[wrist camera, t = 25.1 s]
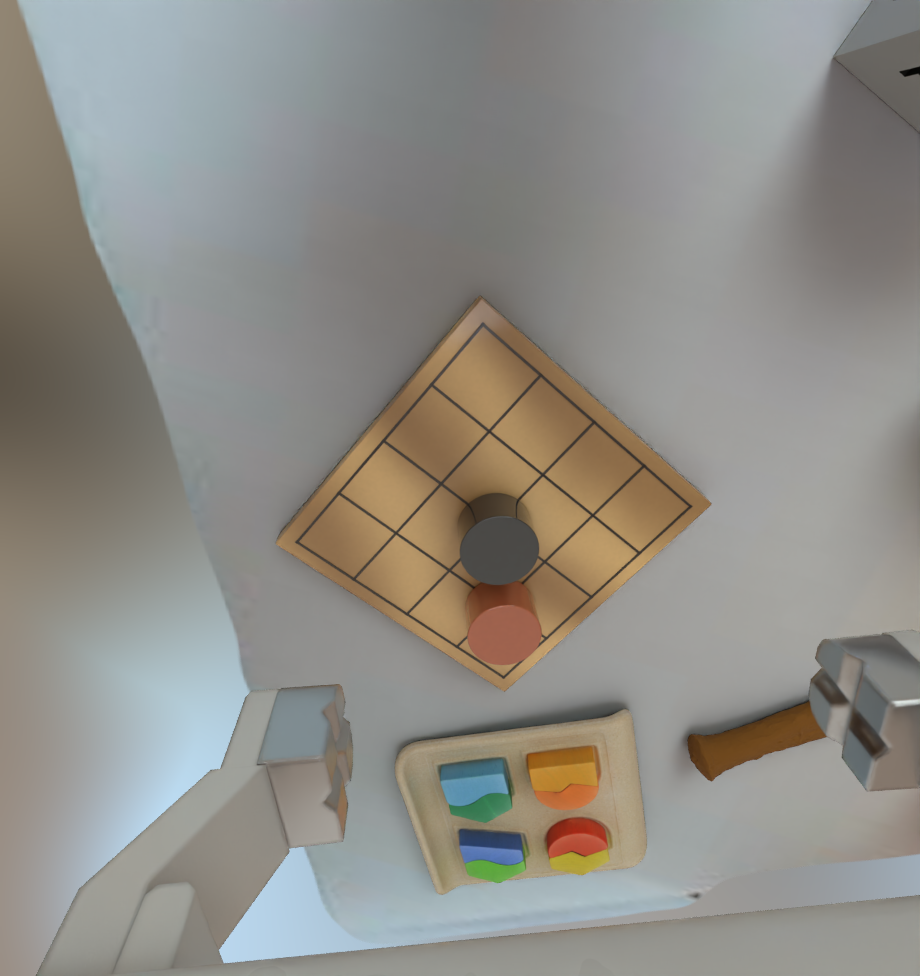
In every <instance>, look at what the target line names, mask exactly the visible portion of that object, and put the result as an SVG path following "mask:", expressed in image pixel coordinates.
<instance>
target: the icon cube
mask: <svg viewBox="0 0 920 976" xmlns="http://www.w3.org/2000/svg"><path fill="white" fill-rule="evenodd" d="M834 58H835V59H836V60H837V61H838V62H839V63H840V64H842V65H843V66H844V67H845V68H846V69H847V70H848V71H850V72H851V73H852V74H853V75H854V76H855V77H856V78H858V79H859V80H860V81H861V82H862V83H863V84H864V85H866V86H867V87H868V88H869V89H870V90H871V91H872V92H874V93H875V94H876V95H877V96H878V97H879V98H880V99H882V100H883V101H884V102H885V103H886V104H887V105H888V106H890V107H891V108H892V109H893V110H894V111H895V112H896V113H898V114H899V115H900V116H901V117H902V118H903V119H904V120H906V121H907V122H908V123H909V124H910V125H911V126H912V127H914V128H915V129H916V130H917V131H918V132H919V133H920V0H873V1H872V2H871V4H870V5H869V7H868V8H867V9H866V11H865V12H864V14H863V15H862V17H861V18H860V19H859V21H858V22H857V24H856V25H855V27H854V28H853V29H852V31H851V32H850V34H849V35H848V37H847V38H846V39H845V41H844V42H843V44H842V45H841V47H840V48H839V50H838V51H837V52H836V54H835V55H834Z"/></svg>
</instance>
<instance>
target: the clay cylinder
mask: <svg viewBox="0 0 920 976" xmlns="http://www.w3.org/2000/svg"><path fill="white" fill-rule="evenodd" d="M465 619H466V629H467V639H468V644H469V647H470V649H471V650H472V652H473V653H474V654H475V655H476V656H477V657H478V658H479V659H481V660H483V661H485V662H487V663H490V664H494V665H510V664H515V663H518V662H520V661H522V660H524V659H526V658H527V657H529V656H530V655H531V654H532V653H533V652H534V651H535V650H536V649H537V647H538V645H539V643H540V640H541V636H542V629H541V625H540V621H539V617H538V614H537V610H536V606H535V602H534V599H533V596H532V594H531V592H530V591H529V589H528V588H527V587H526V586H524V585H523V584H522V583H520V582H518V581H515V582H512V583H509V584H504V585H490V584H486V583H481V584H479V585H478V586H476V587H475V588H474V589H473V590H472V591H471V592H470V594H469V595H468V597H467V599H466V603H465Z"/></svg>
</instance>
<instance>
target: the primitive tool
mask: <svg viewBox="0 0 920 976" xmlns="http://www.w3.org/2000/svg"><path fill="white" fill-rule="evenodd" d="M824 737H827V736H826V735H825V734H824V733H823V731H822V730H821V728H820V727H819V725H818V724H817V722H816V720H815V718H814V716H813V713H812V711H811V706H810V701H808V702H806V703H804V704H801V705H798V706H796V707H793V708H790V709H787V710H784V711H781V712H778V713H776V714H773V715H771V716H768V717H766V718H764V719H762V720H760V721H757V722H753V723H750V724H748V725H745V726H742V727H739V728H735V729H732V730H728V731H725V732H723V733H720V734H715V735H707V736H702V735H694V734H691V735H690V736H689V738H688V750H689V754H690V758H691V761H692V762H693V763H694V764H695V766H696V768H697V769H698V770H699V771H700V772H701V773H702V774H703V775H704V776H705V777H706V778H707V779H708V780H710V781H713V780H714V779H715V777H717V776H718V775H720V774H721V773H722V772H724V771H725V770H729V769H731V768H733V767H734V766H737V765H740V764H742V763H744V762H746V761H750V760H757V759H759V758H761V757H762V756H763V755H765V754H768V753H772V752H775V751H781V750H784V749H786V748H790V747H794V746H799V745H801V744H804V743H807V742H810V741H814V740H818V739H821V738H824Z"/></svg>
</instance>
